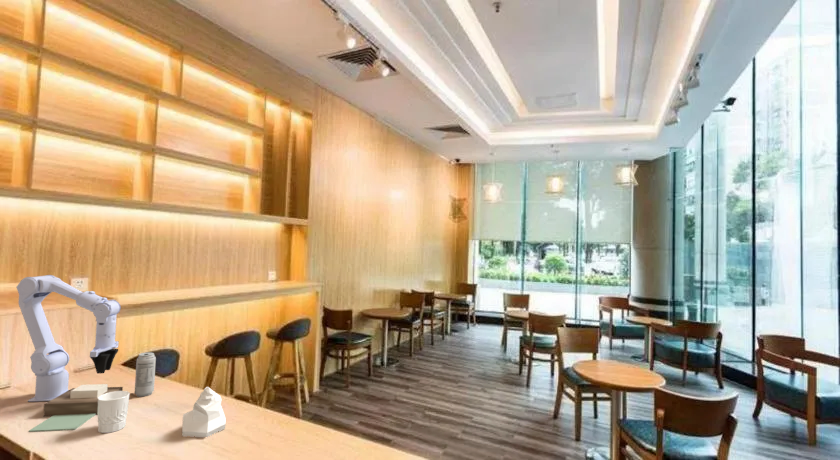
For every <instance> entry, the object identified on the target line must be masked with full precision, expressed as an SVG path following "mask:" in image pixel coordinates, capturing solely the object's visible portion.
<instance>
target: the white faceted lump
mask: <svg viewBox="0 0 840 460" xmlns="http://www.w3.org/2000/svg"><path fill="white" fill-rule="evenodd" d="M222 400H223V399H222V396H221V395H220V394H218V392H216V391H214V390H213V389H211V388H210V387H209V386H206V387H205V388H203V391H202V392H200V394H199V396H198V398H197V400H196V401H195V403H193V407H192V410H190V411H187V412H184V413H183V415H182V427H181V428H182V429H181V437H187V436H190V437H189V438H191V437H193V438H204V437H207V438H209V437H210V435H211V436H213V435H214V433H215V434H217V433H219V432H221V431H223V430H225V429H226V426H227V425H226V424H227V423H226V422H227V421H226V420H227V419H226V415H225V412H224V409H223V407H222ZM218 431H219V432H218ZM216 432H217V433H216ZM212 434H213V435H212ZM194 436H195V437H194ZM208 436H209V437H208Z"/></svg>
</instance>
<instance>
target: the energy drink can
mask: <svg viewBox="0 0 840 460" xmlns="http://www.w3.org/2000/svg"><path fill="white" fill-rule="evenodd" d="M156 361H157V358H156V355H155V352H151V351H148V352H141V353H139V354H138V357H137V358H136V365H135V380H134V381H135V382H134V394H135V396H136V397H138V398H139V397H140V398H142V397H147V396H148V397H149V396H151V395H152V394H153V393H154V391H155V378H156V377H155V376H156Z"/></svg>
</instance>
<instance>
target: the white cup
mask: <svg viewBox="0 0 840 460" xmlns="http://www.w3.org/2000/svg"><path fill="white" fill-rule="evenodd" d="M129 400H130V391H127V390H122V391H114V392H109V393H105V394H103V395H101V396H99V397H98V414H97V425H98V426H97V427H98V428H97V429H98V430H97V431H98V433H101V434H108V433H109V434H110V433H113V432H118V431H120V430H123V429H124V428H125V427H126V424H127V423H126V422H127V418H128V417H127V416H128V411H129Z"/></svg>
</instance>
